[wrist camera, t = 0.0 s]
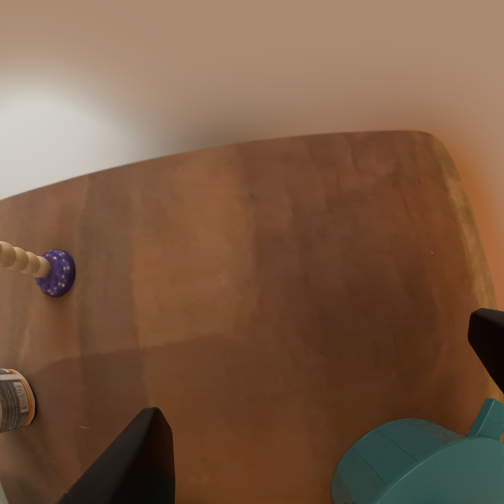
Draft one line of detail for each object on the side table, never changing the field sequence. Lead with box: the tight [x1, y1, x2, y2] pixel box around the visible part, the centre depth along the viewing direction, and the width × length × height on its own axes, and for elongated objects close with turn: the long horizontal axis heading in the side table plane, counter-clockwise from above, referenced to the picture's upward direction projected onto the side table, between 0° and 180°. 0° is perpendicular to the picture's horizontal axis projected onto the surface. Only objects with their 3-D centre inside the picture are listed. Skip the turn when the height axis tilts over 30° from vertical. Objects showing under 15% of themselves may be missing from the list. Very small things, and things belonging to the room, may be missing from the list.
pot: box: [330, 398, 504, 504], centre depth 14 cm, size 11×16×8 cm, turn 148°
